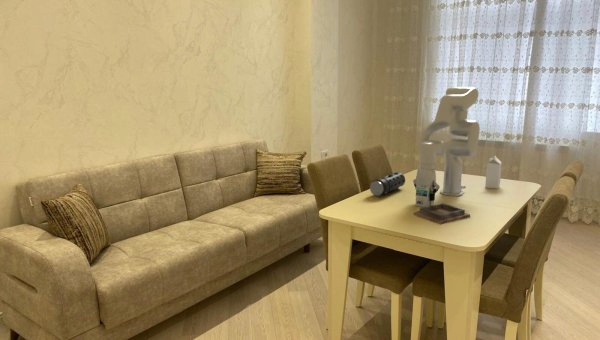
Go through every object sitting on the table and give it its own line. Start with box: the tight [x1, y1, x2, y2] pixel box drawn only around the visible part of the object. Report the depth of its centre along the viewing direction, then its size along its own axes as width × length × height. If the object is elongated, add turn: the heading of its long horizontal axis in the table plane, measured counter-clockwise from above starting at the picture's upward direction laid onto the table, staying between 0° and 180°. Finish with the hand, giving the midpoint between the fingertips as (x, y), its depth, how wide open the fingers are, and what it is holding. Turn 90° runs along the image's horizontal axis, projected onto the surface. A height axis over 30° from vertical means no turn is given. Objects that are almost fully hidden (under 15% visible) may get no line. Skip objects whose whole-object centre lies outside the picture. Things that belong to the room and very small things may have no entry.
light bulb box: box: [415, 185, 435, 208], centre depth 228 cm, size 11×7×11 cm, turn 146°
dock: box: [413, 203, 471, 225], centre depth 210 cm, size 20×17×4 cm
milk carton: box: [484, 155, 503, 189], centre depth 263 cm, size 7×7×19 cm
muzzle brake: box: [369, 171, 406, 197], centre depth 252 cm, size 10×28×10 cm, turn 142°
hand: (425, 198), depth 228 cm, fingers closed on light bulb box, 9 cm apart
